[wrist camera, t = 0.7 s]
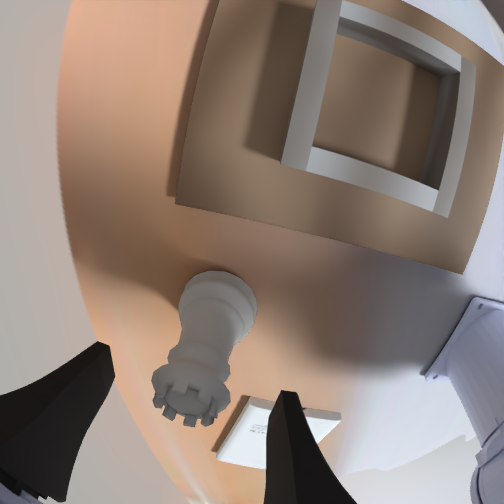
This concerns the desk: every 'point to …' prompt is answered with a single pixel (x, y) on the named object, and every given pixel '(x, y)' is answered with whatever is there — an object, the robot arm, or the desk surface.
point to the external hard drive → (265, 432)
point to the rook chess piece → (204, 347)
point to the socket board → (346, 125)
